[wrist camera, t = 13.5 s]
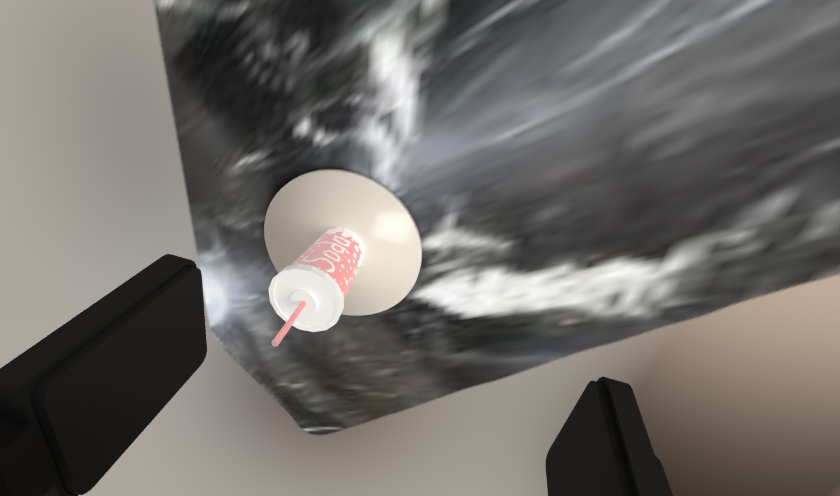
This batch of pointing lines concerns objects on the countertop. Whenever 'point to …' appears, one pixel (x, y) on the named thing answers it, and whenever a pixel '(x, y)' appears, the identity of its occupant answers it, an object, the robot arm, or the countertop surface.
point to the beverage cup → (317, 282)
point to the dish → (358, 212)
